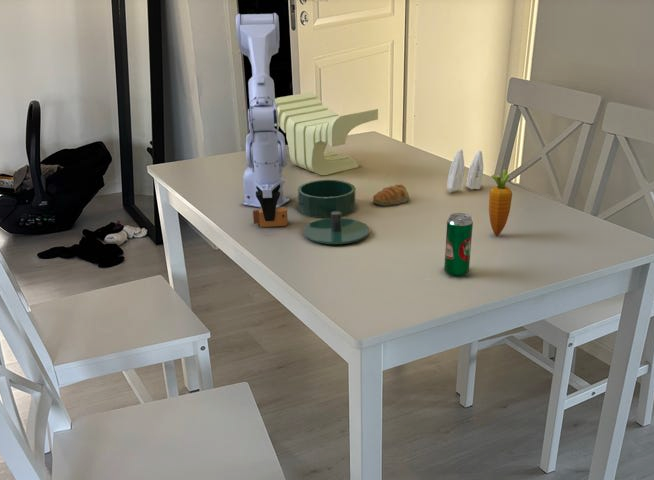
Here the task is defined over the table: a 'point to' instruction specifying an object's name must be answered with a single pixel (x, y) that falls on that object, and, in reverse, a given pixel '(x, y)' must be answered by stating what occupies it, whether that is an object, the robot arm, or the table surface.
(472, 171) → the shaker set
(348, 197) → the pot
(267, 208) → the robot arm
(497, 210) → the carrot
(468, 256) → the soda can
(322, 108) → the slatted curved stool
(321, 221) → the pot lid
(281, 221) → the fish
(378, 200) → the pastry
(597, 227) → the table surface
